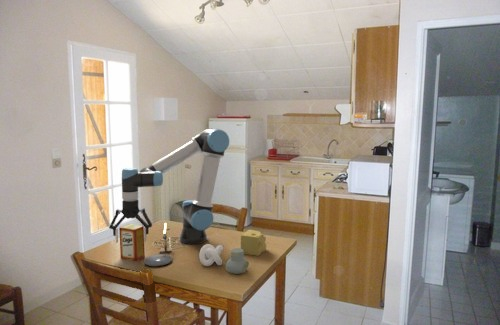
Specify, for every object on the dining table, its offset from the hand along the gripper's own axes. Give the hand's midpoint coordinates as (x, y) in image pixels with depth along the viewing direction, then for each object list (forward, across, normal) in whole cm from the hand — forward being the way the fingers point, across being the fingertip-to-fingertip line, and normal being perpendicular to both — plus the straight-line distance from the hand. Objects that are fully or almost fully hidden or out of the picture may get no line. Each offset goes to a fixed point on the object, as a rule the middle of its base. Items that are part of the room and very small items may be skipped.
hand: (131, 241), depth 183 cm
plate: (+8, -14, +9) cm, 18 cm away
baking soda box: (+8, 0, 0) cm, 9 cm away
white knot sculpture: (+8, -40, +17) cm, 44 cm away
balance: (+8, -16, -5) cm, 19 cm away
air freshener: (+8, -50, +27) cm, 57 cm away
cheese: (+8, -62, +4) cm, 62 cm away
